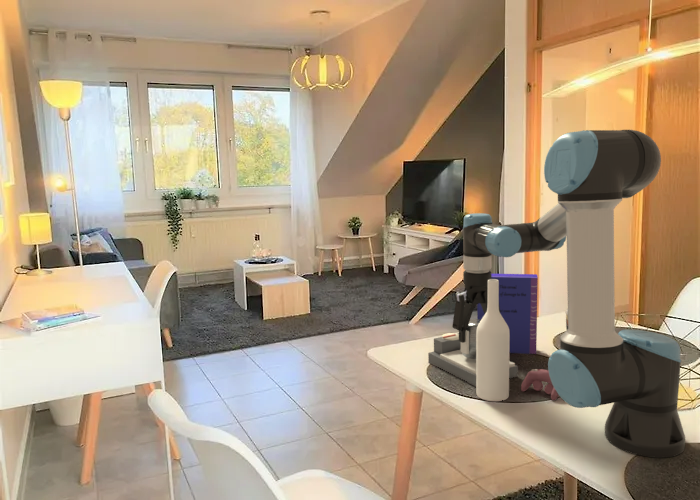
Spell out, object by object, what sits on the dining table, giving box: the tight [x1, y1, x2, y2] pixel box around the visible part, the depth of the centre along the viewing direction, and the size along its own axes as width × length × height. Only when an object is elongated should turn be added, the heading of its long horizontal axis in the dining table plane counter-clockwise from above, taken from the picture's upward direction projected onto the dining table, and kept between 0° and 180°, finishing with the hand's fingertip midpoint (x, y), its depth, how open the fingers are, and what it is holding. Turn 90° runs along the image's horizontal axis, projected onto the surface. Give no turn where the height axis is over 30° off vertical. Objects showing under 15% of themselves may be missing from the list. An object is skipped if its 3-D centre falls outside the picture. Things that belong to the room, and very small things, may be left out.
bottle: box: [475, 279, 510, 402], centre depth 145 cm, size 8×8×30 cm
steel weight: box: [462, 318, 481, 359], centre depth 161 cm, size 8×8×9 cm
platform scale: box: [428, 332, 518, 387], centre depth 165 cm, size 23×14×8 cm, turn 28°
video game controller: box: [520, 368, 560, 401], centre depth 147 cm, size 10×5×7 cm, turn 43°
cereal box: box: [476, 273, 539, 355], centre depth 177 cm, size 17×5×24 cm, turn 76°
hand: (477, 349), depth 162 cm, fingers closed on steel weight, 8 cm apart
